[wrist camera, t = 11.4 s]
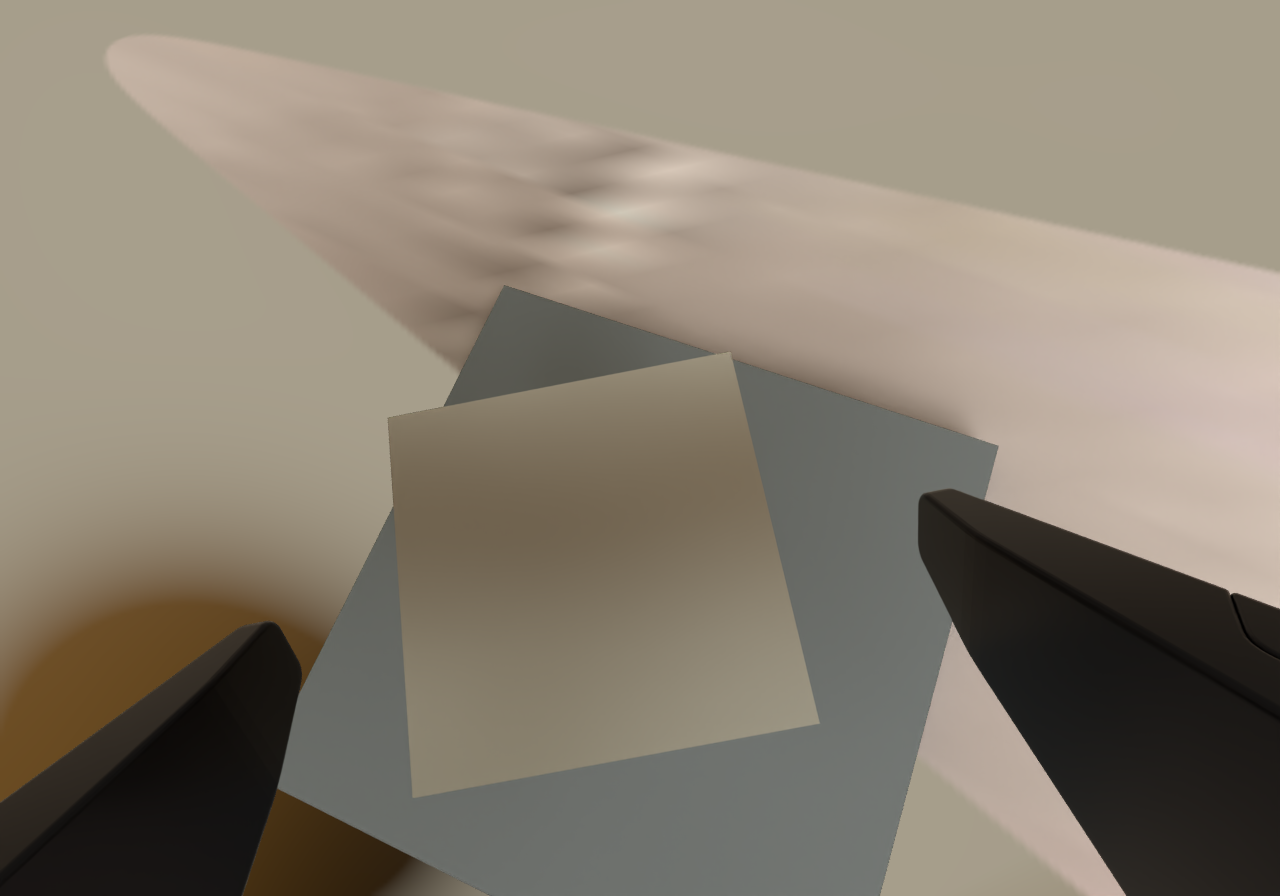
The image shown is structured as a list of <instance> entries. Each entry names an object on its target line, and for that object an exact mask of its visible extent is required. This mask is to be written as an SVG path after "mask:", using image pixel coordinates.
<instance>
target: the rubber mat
mask: <svg viewBox="0 0 1280 896" xmlns="http://www.w3.org/2000/svg"><path fill="white" fill-rule="evenodd" d="M709 355H714V353H711V352H708V351H705V350H702V349H699V348H696V347H693V346H690V345H687V344H684V343H681V342H678V341H674V340H671V339H668V338H665V337H662V336H659V335H656V334H653V333H650V332H647V331H644V330H641V329H638V328H635V327H631V326H628V325H625V324H622V323H619V322H616V321H613V320H610V319H607V318H604V317H601V316H598V315H595V314H592V313H588V312H585V311H582V310H579V309H576V308H573V307H570V306H567V305H564V304H561V303H558V302H555V301H552V300H549V299H545V298H542V297H539V296H536V295H533V294H530V293H527V292H524V291H521V290H518V289H515V288H512V287H509V286H505V285H504V287H503V289H502V291H501V293H500V295H499V297H498V299H497V301H496V303H495V305H494V307H493V309H492V311H491V313H490V315H489V317H488V319H487V321H486V323H485V325H484V327H483V329H482V331H481V333H480V335H479V337H478V339H477V341H476V343H475V345H474V347H473V349H472V351H471V353H470V355H469V357H468V359H467V361H466V363H465V365H464V367H463V369H462V371H461V373H460V375H459V377H458V379H457V381H456V383H455V385H454V387H453V389H452V391H451V393H450V395H449V397H448V399H447V401H446V403H445V405H444V407H446V406H451V405H456V404H461V403H466V402H471V401H477V400H482V399H487V398H492V397H497V396H502V395H508V394H513V393H518V392H523V391H528V390H533V389H539V388H544V387H549V386H554V385H559V384H564V383H570V382H575V381H580V380H585V379H590V378H596V377H601V376H606V375H611V374H616V373H621V372H627V371H632V370H637V369H642V368H647V367H652V366H658V365H663V364H668V363H673V362H678V361H683V360H689V359H694V358H699V357H704V356H709ZM732 360H733V359H732ZM733 364H734V368H735V373H736V377H737V381H738V385H739V389H740V393H741V398H742V402H743V406H744V410H745V414H746V418H747V423H748V427H749V431H750V435H751V439H752V443H753V448H754V452H755V456H756V460H757V464H758V468H759V472H760V477H761V481H762V485H763V489H764V493H765V497H766V502H767V506H768V510H769V514H770V518H771V522H772V527H773V531H774V535H775V539H776V543H777V547H778V552H779V556H780V560H781V564H782V568H783V572H784V576H785V581H786V585H787V589H788V593H789V597H790V601H791V606H792V610H793V614H794V618H795V622H796V626H797V631H798V635H799V639H800V643H801V647H802V651H803V656H804V660H805V664H806V668H807V672H808V676H809V681H810V685H811V689H812V693H813V697H814V701H815V705H816V710H817V714H818V718H819V722H820V724H815V725H810V726H804V727H799V728H793V729H788V730H782V731H777V732H771V733H766V734H761V735H755V736H750V737H744V738H739V739H733V740H728V741H722V742H717V743H712V744H706V745H701V746H695V747H690V748H684V749H679V750H673V751H668V752H662V753H657V754H652V755H646V756H641V757H635V758H630V759H624V760H619V761H613V762H608V763H602V764H597V765H592V766H586V767H581V768H575V769H570V770H564V771H559V772H553V773H548V774H543V775H537V776H532V777H526V778H521V779H515V780H510V781H504V782H499V783H493V784H488V785H483V786H477V787H472V788H466V789H461V790H455V791H450V792H444V793H439V794H433V795H428V796H423V797H417V798H413V797H412V782H411V767H410V751H409V736H408V720H407V705H406V690H405V674H404V659H403V644H402V628H401V613H400V597H399V582H398V567H397V551H396V536H395V521H394V506H393V508H392V510H391V512H390V514H389V516H388V518H387V520H386V522H385V524H384V526H383V528H382V530H381V532H380V534H379V536H378V538H377V540H376V542H375V544H374V546H373V548H372V550H371V552H370V554H369V556H368V558H367V560H366V562H365V564H364V566H363V568H362V570H361V572H360V574H359V576H358V578H357V580H356V582H355V584H354V586H353V588H352V590H351V592H350V594H349V596H348V598H347V600H346V602H345V604H344V606H343V608H342V610H341V612H340V614H339V616H338V618H337V620H336V622H335V624H334V626H333V628H332V630H331V632H330V634H329V636H328V638H327V640H326V642H325V644H324V646H323V648H322V650H321V652H320V654H319V655H318V658H317V660H316V662H315V663H314V665H313V667H312V669H311V671H310V674H309V675H308V678H307V679H306V681H305V683H304V685H303V687H302V689H301V691H300V693H299V695H298V699H297V704H296V709H295V713H294V718H293V722H292V727H291V731H290V736H289V741H288V745H287V750H286V754H285V759H284V764H283V768H282V772H281V776H280V780H279V784H278V787H277V788H278V789H280V790H282V791H284V792H285V793H288V794H289V795H291V796H293V797H295V798H297V799H299V800H301V801H303V802H305V803H307V804H309V805H311V806H313V807H315V808H317V809H320V810H321V811H323V812H325V813H327V814H329V815H331V816H333V817H335V818H337V819H339V820H341V821H343V822H345V823H347V824H349V825H351V826H353V827H355V828H357V829H359V830H361V831H363V832H365V833H367V834H369V835H371V836H373V837H375V838H377V839H379V840H381V841H383V842H385V843H387V844H389V845H391V846H392V847H395V848H397V849H398V850H400V851H402V852H404V853H407V854H408V855H410V856H412V857H414V858H416V859H419V860H420V861H422V862H424V863H426V864H428V865H430V866H432V867H434V868H436V869H438V870H440V871H442V872H444V873H446V874H448V875H450V876H452V877H454V878H456V879H458V880H460V881H462V882H464V883H466V884H468V885H470V886H472V887H474V888H476V889H478V890H480V891H482V892H484V893H486V894H488V895H490V896H880V893H881V889H882V885H883V881H884V878H885V874H886V870H887V866H888V863H889V859H890V855H891V851H892V848H893V844H894V840H895V836H896V832H897V829H898V824H899V821H900V817H901V813H902V810H903V806H904V802H905V798H906V794H907V791H908V787H909V783H910V779H911V775H912V772H913V767H914V764H915V760H916V757H917V753H918V749H919V745H920V742H921V738H922V734H923V730H924V726H925V723H926V719H927V715H928V711H929V707H930V704H931V700H932V696H933V692H934V688H935V685H936V681H937V677H938V673H939V670H940V666H941V662H942V658H943V654H944V651H945V647H946V643H947V639H948V635H949V632H950V628H951V624H952V619H951V617H950V615H949V613H948V611H947V609H946V607H945V605H944V603H943V601H942V599H941V597H940V595H939V593H938V591H937V589H936V587H935V585H934V583H933V581H932V579H931V577H930V575H929V573H928V571H927V569H926V567H925V565H924V563H923V561H922V559H921V556H920V552H919V548H918V502H919V499H920V496H921V495H922V494H923V493H926V492H931V491H937V490H942V489H946V488H952V489H956V490H958V491H961V492H964V493H966V494H969V495H972V496H975V497H977V498H980V499H983V500H984V499H985V495H986V492H987V488H988V484H989V480H990V476H991V473H992V469H993V465H994V461H995V457H996V454H997V450H998V446H997V445H994V444H991V443H988V442H985V441H982V440H979V439H975V438H972V437H969V436H966V435H963V434H960V433H957V432H954V431H951V430H948V429H945V428H942V427H939V426H936V425H932V424H929V423H926V422H923V421H920V420H917V419H914V418H911V417H908V416H905V415H902V414H899V413H896V412H893V411H889V410H886V409H883V408H880V407H877V406H874V405H871V404H868V403H865V402H862V401H859V400H856V399H853V398H850V397H846V396H843V395H840V394H837V393H834V392H831V391H828V390H825V389H822V388H819V387H816V386H813V385H810V384H807V383H803V382H800V381H797V380H794V379H791V378H788V377H785V376H782V375H779V374H776V373H773V372H770V371H767V370H764V369H760V368H757V367H754V366H751V365H748V364H745V363H742V362H739V361H736V360H733Z"/></svg>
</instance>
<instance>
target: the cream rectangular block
mask: <svg viewBox="0 0 1280 896" xmlns="http://www.w3.org/2000/svg"><path fill="white" fill-rule="evenodd" d="M388 428H389V443H390V459H391V474H392V489H393V505H394V521H395V536H396V551H397V567H398V582H399V597H400V613H401V628H402V644H403V659H404V674H405V690H406V705H407V720H408V736H409V751H410V767H411V782H412V797H413V798H417V797H423V796H428V795H433V794H439V793H444V792H450V791H455V790H461V789H466V788H472V787H477V786H483V785H488V784H493V783H499V782H504V781H510V780H515V779H521V778H526V777H532V776H537V775H543V774H548V773H553V772H559V771H564V770H570V769H575V768H581V767H586V766H592V765H597V764H602V763H608V762H613V761H619V760H624V759H630V758H635V757H641V756H646V755H652V754H657V753H662V752H668V751H673V750H679V749H684V748H690V747H695V746H701V745H706V744H712V743H717V742H722V741H728V740H733V739H739V738H744V737H750V736H755V735H761V734H766V733H771V732H777V731H782V730H788V729H793V728H799V727H804V726H810V725H815V724H820V722H819V718H818V714H817V710H816V705H815V701H814V697H813V693H812V689H811V685H810V681H809V676H808V672H807V668H806V664H805V660H804V656H803V651H802V647H801V643H800V639H799V635H798V631H797V626H796V622H795V618H794V614H793V610H792V606H791V601H790V597H789V593H788V589H787V585H786V581H785V576H784V572H783V568H782V564H781V560H780V556H779V552H778V547H777V543H776V539H775V535H774V531H773V527H772V522H771V518H770V514H769V510H768V506H767V502H766V497H765V493H764V489H763V485H762V481H761V477H760V472H759V468H758V464H757V460H756V456H755V452H754V448H753V443H752V439H751V435H750V431H749V427H748V423H747V418H746V414H745V410H744V406H743V402H742V398H741V393H740V389H739V385H738V381H737V377H736V373H735V368H734V364H733V360H732V356H731V352H725V353H720V354H714V355H709V356H704V357H699V358H694V359H689V360H683V361H678V362H673V363H668V364H663V365H658V366H652V367H647V368H642V369H637V370H632V371H627V372H621V373H616V374H611V375H606V376H601V377H596V378H590V379H585V380H580V381H575V382H570V383H564V384H559V385H554V386H549V387H544V388H539V389H533V390H528V391H523V392H518V393H513V394H508V395H502V396H497V397H492V398H487V399H482V400H477V401H471V402H466V403H461V404H456V405H451V406H446V407H441V408H435V409H430V410H425V411H420V412H415V413H410V414H404V415H399V416H394V417H389V418H388Z"/></svg>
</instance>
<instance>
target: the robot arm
mask: <svg viewBox="0 0 1280 896" xmlns="http://www.w3.org/2000/svg"><path fill="white" fill-rule="evenodd" d="M918 548H919V552H920V556H921V559H922V561H923V563H924V565H925V567H926V569H927V571H928V573H929V575H930V577H931V579H932V581H933V583H934V585H935V587H936V589H937V591H938V593H939V595H940V597H941V599H942V601H943V603H944V605H945V607H946V609H947V611H948V613H949V615H950V617H951V619H952V621H953V623H954V625H955V627H956V629H957V631H958V633H959V635H960V637H961V639H962V641H963V643H964V645H965V647H966V649H967V651H968V652H969V654H970V656H971V657H972V659H973V661H974V662H975V664H976V666H977V667H978V669H979V670H980V672H981V673H982V675H983V676H984V678H985V680H986V681H987V683H988V684H989V686H990V687H991V689H992V690H993V692H994V693H995V695H996V696H997V698H998V699H999V701H1000V703H1001V704H1002V706H1003V707H1004V709H1005V710H1006V712H1007V713H1008V715H1009V716H1010V718H1011V719H1012V721H1013V723H1014V724H1015V726H1016V727H1017V729H1018V730H1019V732H1020V733H1021V735H1022V736H1023V738H1024V739H1025V741H1026V742H1027V744H1028V746H1029V747H1030V749H1031V750H1032V752H1033V753H1034V755H1035V756H1036V758H1037V759H1038V761H1039V762H1040V764H1041V765H1042V767H1043V769H1044V770H1045V772H1046V773H1047V775H1048V776H1049V778H1050V779H1051V781H1052V782H1053V784H1054V785H1055V787H1056V789H1057V790H1058V792H1059V793H1060V795H1061V796H1062V798H1063V799H1064V801H1065V802H1066V804H1067V805H1068V807H1069V808H1070V810H1071V812H1072V813H1073V815H1074V816H1075V818H1076V819H1077V821H1078V822H1079V824H1080V825H1081V827H1082V828H1083V830H1084V831H1085V833H1086V835H1087V836H1088V838H1089V839H1090V841H1091V842H1092V844H1093V845H1094V847H1095V848H1096V850H1097V851H1098V853H1099V855H1100V856H1101V858H1102V859H1103V861H1104V862H1105V864H1106V865H1107V867H1108V868H1109V870H1110V871H1111V873H1112V874H1113V876H1114V878H1115V879H1116V881H1117V882H1118V884H1119V885H1120V887H1121V888H1122V890H1123V891H1124V893H1125V894H1126V896H1280V609H1279V608H1276V607H1273V606H1270V605H1268V604H1265V603H1262V602H1260V601H1257V600H1254V599H1252V598H1249V597H1246V596H1244V595H1241V594H1238V593H1233V594H1231V595H1230V593H1229V591H1228V590H1226V589H1224V588H1221V587H1219V586H1216V585H1213V584H1211V583H1208V582H1205V581H1202V580H1200V579H1197V578H1194V577H1192V576H1189V575H1186V574H1183V573H1181V572H1178V571H1175V570H1173V569H1170V568H1167V567H1164V566H1162V565H1159V564H1156V563H1154V562H1151V561H1148V560H1145V559H1143V558H1140V557H1137V556H1135V555H1132V554H1129V553H1126V552H1124V551H1121V550H1118V549H1116V548H1113V547H1110V546H1107V545H1105V544H1102V543H1099V542H1097V541H1094V540H1091V539H1089V538H1086V537H1083V536H1080V535H1078V534H1075V533H1072V532H1070V531H1067V530H1064V529H1061V528H1059V527H1056V526H1053V525H1051V524H1048V523H1045V522H1042V521H1040V520H1037V519H1034V518H1032V517H1029V516H1026V515H1023V514H1021V513H1018V512H1015V511H1013V510H1010V509H1007V508H1004V507H1002V506H999V505H996V504H994V503H991V502H988V501H985V500H983V499H980V498H977V497H975V496H972V495H969V494H966V493H964V492H961V491H958V490H956V489H952V488H946V489H942V490H937V491H931V492H926V493H923V494H922V495H921V496H920V499H919V502H918ZM301 679H302V672H301V666H300V663H299V661H298V659H297V658H296V655H295V654H294V652H293V650H292V649H291V647H290V645H289V643H288V641H287V639H286V637H285V636H284V634H283V632H282V630H281V629H280V627H279V626H278V625H277V624H276V623H274V622H271V621H265V622H259V623H254V624H249V625H245V626H242V627H240V628H238V629H237V630H235V631H234V632H232V633H231V634H230V635H228V636H227V637H226V638H224V639H223V640H221V641H220V642H219V643H217V644H216V645H215V646H213V647H212V648H211V649H209V650H208V651H206V652H205V653H204V654H202V655H201V656H200V657H198V658H197V659H196V660H194V661H193V662H192V663H190V664H189V665H187V666H186V667H185V668H183V669H182V670H181V671H179V672H178V673H176V674H175V675H174V676H172V677H171V678H170V679H168V680H167V681H165V682H164V683H163V684H161V685H160V686H159V687H157V688H156V689H155V690H153V691H152V692H150V693H149V694H148V695H146V696H145V697H144V698H142V699H141V700H140V701H138V702H137V703H136V704H134V705H133V706H131V707H130V708H129V709H127V710H126V711H125V712H123V713H122V714H120V715H119V716H118V717H116V718H115V719H114V720H112V721H111V722H109V723H108V724H107V725H105V726H104V727H103V728H101V729H100V730H99V731H97V732H96V733H95V734H93V735H92V736H90V737H89V738H88V739H86V740H85V741H84V742H82V743H81V744H79V745H78V746H77V747H75V748H74V749H73V750H71V751H70V752H69V753H67V754H66V755H64V756H63V757H62V758H60V759H59V760H58V761H56V762H55V763H53V764H52V765H51V766H49V767H48V768H47V769H45V770H44V771H43V772H41V773H40V774H38V775H37V776H36V777H34V778H33V779H32V780H30V781H29V782H28V783H26V784H25V785H23V786H22V787H21V788H19V789H18V790H17V791H15V792H14V793H13V794H11V795H10V796H9V797H7V798H6V799H4V800H3V801H2V802H0V896H242V895H243V892H244V889H245V886H246V883H247V880H248V877H249V874H250V871H251V868H252V865H253V862H254V859H255V856H256V853H257V849H258V847H259V844H260V841H261V837H262V834H263V831H264V828H265V825H266V822H267V819H268V816H269V813H270V810H271V807H272V804H273V801H274V797H275V794H276V790H277V787H278V784H279V780H280V776H281V772H282V768H283V764H284V759H285V754H286V750H287V745H288V741H289V736H290V731H291V727H292V722H293V718H294V713H295V709H296V704H297V699H298V695H299V690H300V685H301Z"/></svg>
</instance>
